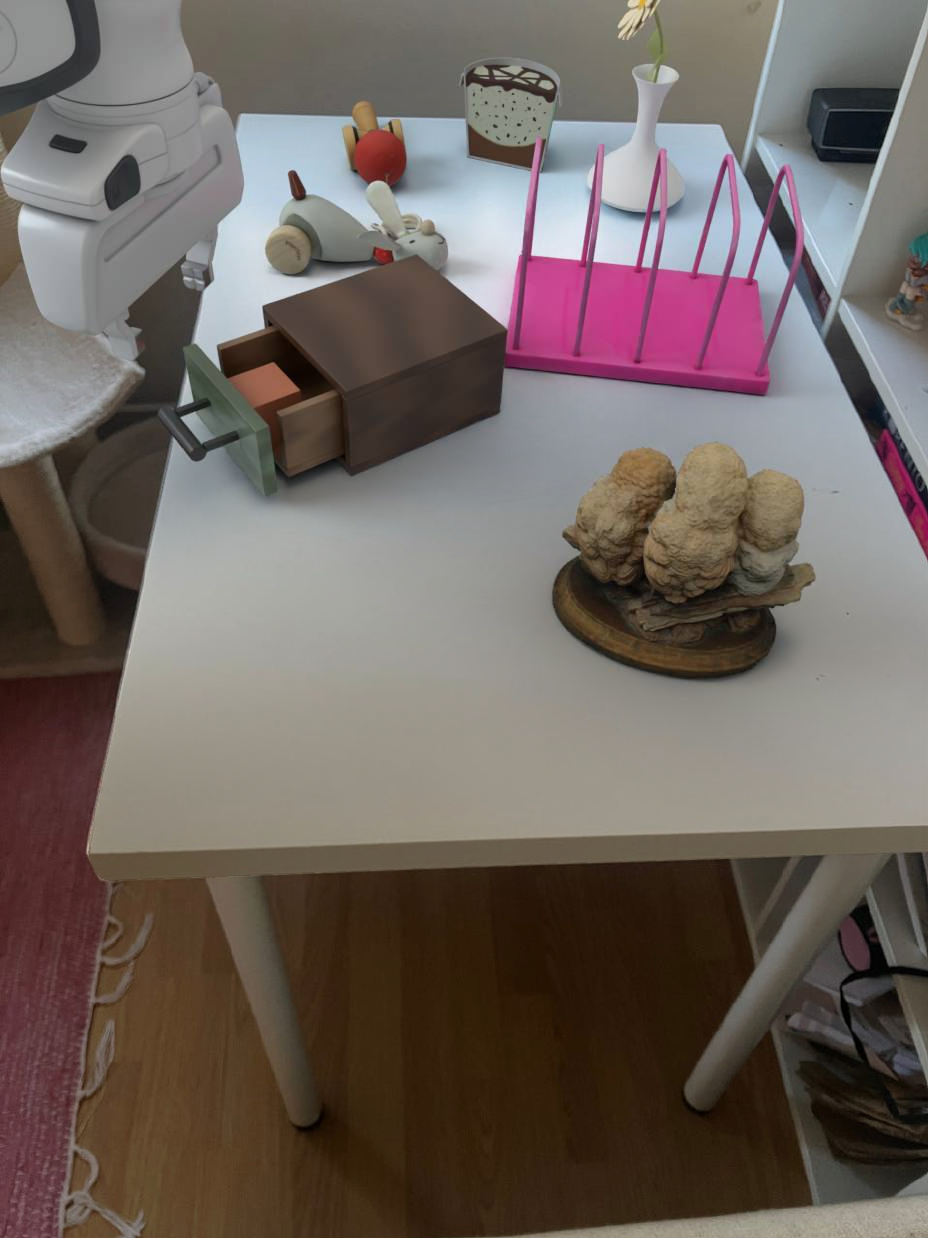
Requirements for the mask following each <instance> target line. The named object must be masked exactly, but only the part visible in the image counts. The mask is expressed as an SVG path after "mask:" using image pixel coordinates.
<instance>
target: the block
mask: <svg viewBox="0 0 928 1238" xmlns="http://www.w3.org/2000/svg"><path fill="white" fill-rule="evenodd" d="M228 380H229V381H230V382H231V384H232V385H233V386H234V387H235V388H236V389H237V390H238V391H239V393H240V394H241V395H242V396H243V397H244V398H245V399H246V401H247V402H248V403H249V404H250V405H251V406H252V407H253V408H254V410H255V411H256V412H257V413H258V414H259V415H260V416H261V417H262V419H263V420H264V421H265V422H266V423H267V424H268V425H269V427H270V435H271V443H272V446H274V445H276V444H279V443H280V435H279V427H278V419H277V411H279V410H282V409H285V408H287V407H290V406H293V405H295V404H298V403H300V402H301V392H300V389H299V388H298V387H297V386H296V385H295V384H294V383H293V382H292V381H291V380H290V379H289V378H288V377H287V376H286V375H285V374H284V373H283V371H282V370H281V369H280V368H279V367H278V366H277V365H276V364H275V363H274V362H272V363H269V364H267V365H264V366H261V367H258V368H256V369H253V370H250V371H247V372H244V373H242V374H239V375H236V376H233V377H231V378H228Z"/></svg>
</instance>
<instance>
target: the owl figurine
mask: <svg viewBox="0 0 928 1238" xmlns="http://www.w3.org/2000/svg"><path fill="white" fill-rule="evenodd" d="M671 460H672V459H671V458H670V456H668V455H667V454H665V453H663V452H662V451H660V450H656V449H652V448H651V447H645V446H642V447H636V448H634V449H631V450H626V451H624V452H623V453H622V454H621V455H620V456H619V457H618V459H617V463H616V464H615V465H614V466H613V467H612V469H611V471H610V473H607V474H605V475H600V476H598V477H597V478H596V479H595V480H594V481H593V485H592V486H591V487H590V488H589V489H588V490H587V492H586V493H585V494H584V495H583V496H582V497H581V499H580V500H579V504H578V507H577V511H576V516H575V521H574V525H573V524H568V525H566V527H564V528H563V530H562V534H561V536H562V538H563V539H564V540H565V541H566V542H567V543H568V545H570V546H571V548H572V549H574V550H577V551H578V552H579V553H580V554H579V555H576V556H575V557H574V558H571V559H570V560H568V561H566V563H565V564H564V565H562V567H561V568H560V569H559V571H558V572H557V574H556V576H555V579H554V582H553V585H552V591H551V593H552V595H551V596H552V597H551V602H552V606H553V608H554V609H555V614H556V616H557V618H558V620H559V621H560V622H561V624H562V625H563V627H564V628H565V629H566V630H567V631H568V632H570V634H572V635H573V636H574V637H575V638H577V639H578V640H579V641H581V642H582V643H584V645H586V646H588V647H590V648H591V649H593V650H594V651H597V652H598V653H600V654H602V655H604V656H605V657H607V658H610V659H612V660H614V661H616V662H619V663H621V664H623V665H627V666H629V667H632V668H636V669H640V670H643V671H646V672H647V671H648V672H650V673H655V674H661V675H665V676H669V677H674V678H682V679H710V678H711V679H712V678H717V679H718V678H722V677H726V676H727V677H728V676H732V675H733V676H734V675H736V674H740V673H744V672H746V671H749V670H752V669H754V667H756V666H757V664H758V663H759V664H760V662H761V661H762V660H763V659H764V658H766V657H767V656H768V655H769V653H770V651H771V649H772V648H773V646H774V644H775V642H776V638H777V623H776V622H777V621H776V618H775V616H774V615H773V613H772V611H771V610H772V609H775V608H776V607H785V606H787V605H790V604H791V603H797V602H800V601H801V599H802V591H803V589H804V588H806V587H809V586H811V585H812V583H814V582H815V581H816V579H817V575H816V573H815V571H814V566H813V565H812V564H811V563H810V562H802V563H796V564H793V565H790V563H791V562H792V561H793V560H794V557H795V556H796V554H798V551H799V550H800V543H799V541H798V540H797V537H798V535H799V532H800V529H801V526H802V520H803V519H802V518H803V514H804V510H805V494H804V489H803V487H802V485H801V484H800V482H799V480H797V479H796V478H794V477H793V476H791V475H788V474H786V473H784V472H781V471H778V470H776V469H766V468H763V469H762V470H759V471H757V472H756V473H755V474H753V475H752V476H751V475H750V477H748V472H747V468H746V464H745V461H744V460H743V459H742V457H741V456H740V455H739V454H738V452H737V451H736V450H735V449H734V448H733V447H732V446H730V445H728V444H725V443H722V442H718V441H715V442H706V443H704V444H700V445H698V446H697V447H694V448H693V449H692V450H689V451H688V453H687V454H686V456H685V458H684V460H683V462H682V463H681V465H680V467H679V468H678V471H676V467H675V466H674V465H673V463H672V461H671Z"/></svg>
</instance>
